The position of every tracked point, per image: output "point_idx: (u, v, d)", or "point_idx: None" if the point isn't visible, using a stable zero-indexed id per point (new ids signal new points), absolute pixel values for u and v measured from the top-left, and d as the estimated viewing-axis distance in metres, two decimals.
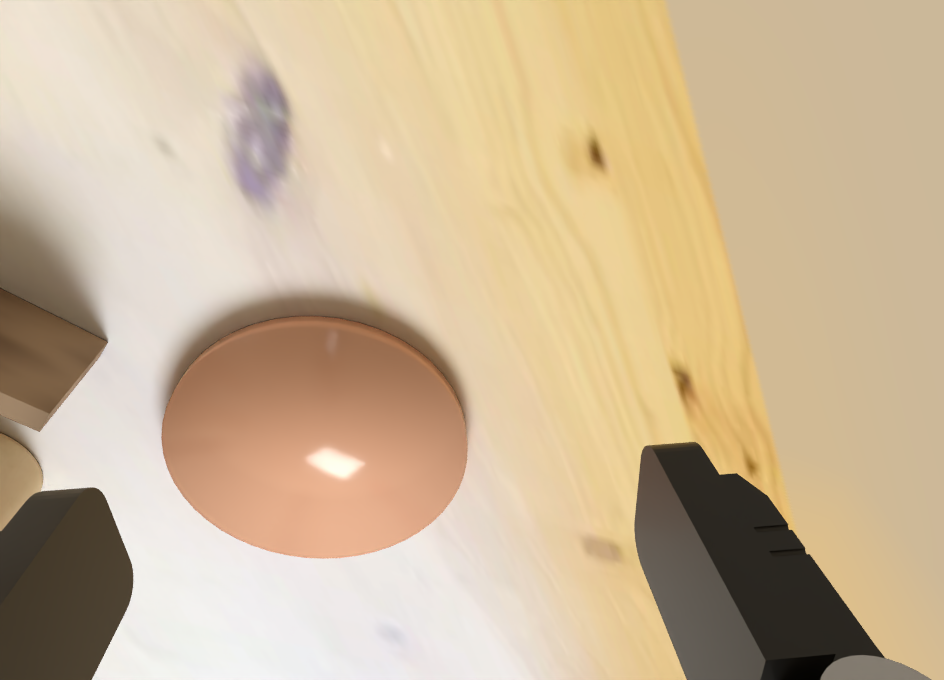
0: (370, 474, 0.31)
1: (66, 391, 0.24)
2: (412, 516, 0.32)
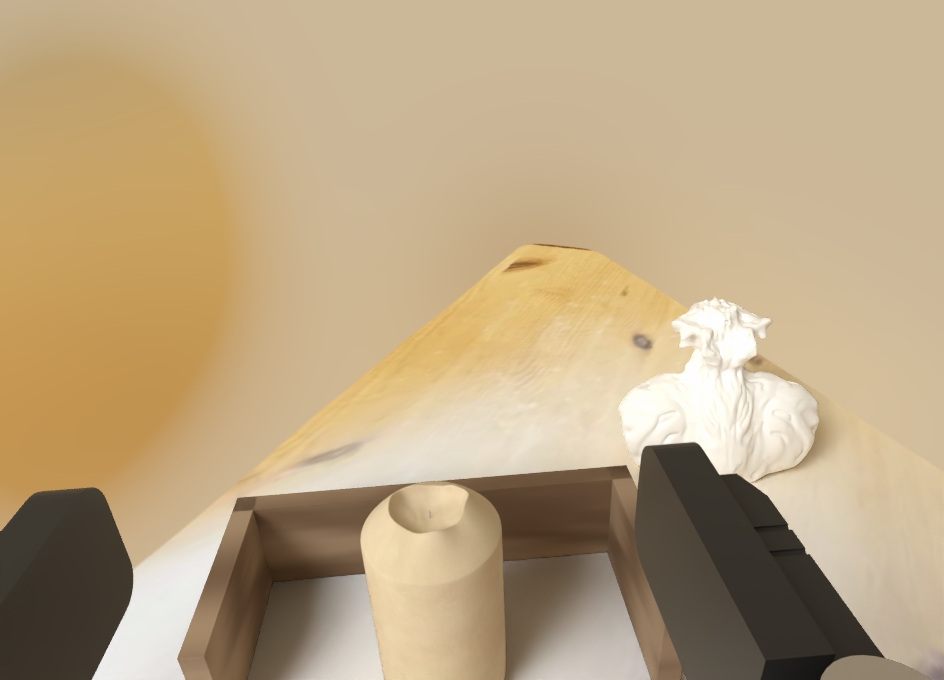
0: None
1: None
2: None
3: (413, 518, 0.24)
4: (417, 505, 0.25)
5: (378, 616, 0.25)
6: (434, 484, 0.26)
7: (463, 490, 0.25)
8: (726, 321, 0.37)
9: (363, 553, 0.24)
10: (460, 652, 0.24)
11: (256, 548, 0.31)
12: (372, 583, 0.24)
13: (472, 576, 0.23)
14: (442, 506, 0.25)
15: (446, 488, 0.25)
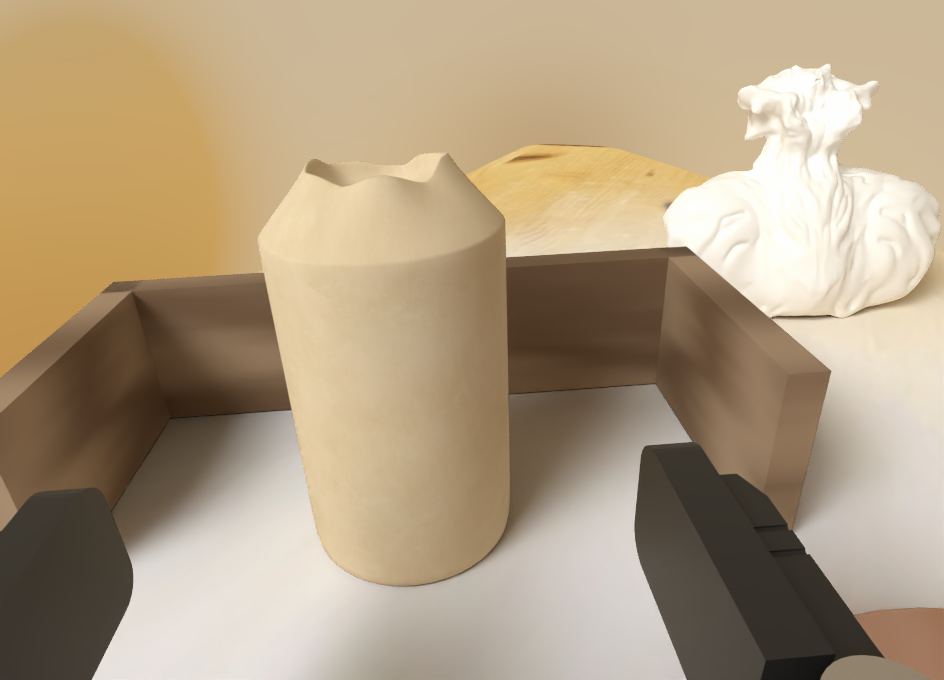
0: None
1: (817, 419, 0.15)
2: None
3: None
4: None
5: (289, 370, 0.14)
6: (392, 166, 0.15)
7: (439, 154, 0.14)
8: (817, 80, 0.27)
9: (259, 245, 0.13)
10: (430, 428, 0.14)
11: (136, 349, 0.21)
12: (274, 296, 0.13)
13: (451, 262, 0.12)
14: None
15: (411, 164, 0.15)
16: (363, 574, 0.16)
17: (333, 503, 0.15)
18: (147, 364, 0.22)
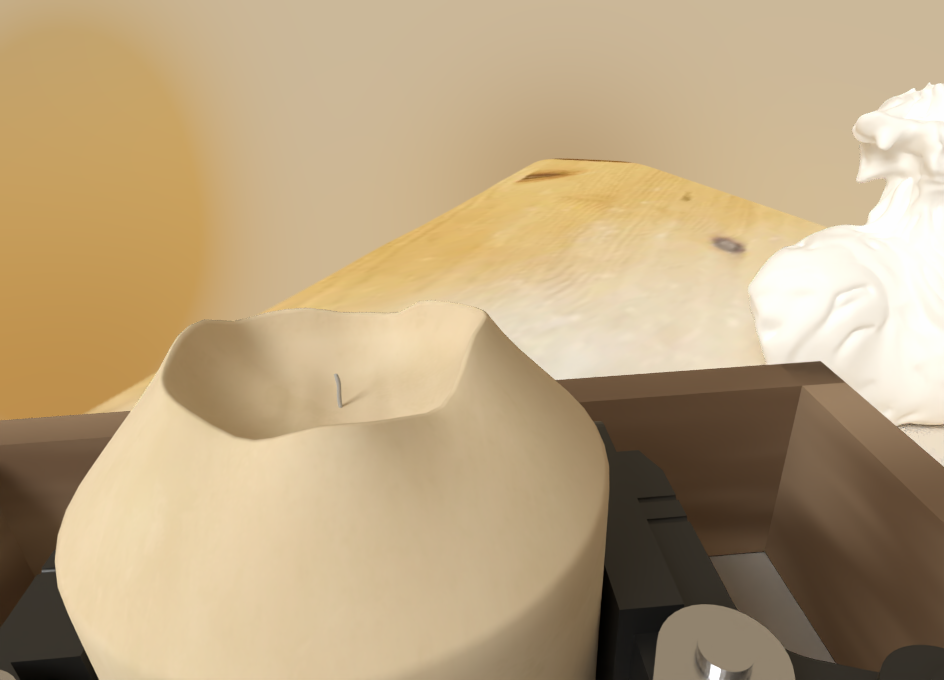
0: None
1: None
2: None
3: (276, 405, 0.06)
4: (302, 372, 0.07)
5: None
6: (369, 313, 0.08)
7: (466, 309, 0.07)
8: None
9: (61, 536, 0.06)
10: None
11: None
12: None
13: (508, 642, 0.05)
14: (389, 373, 0.07)
15: (408, 314, 0.07)
16: None
17: None
18: (3, 550, 0.14)
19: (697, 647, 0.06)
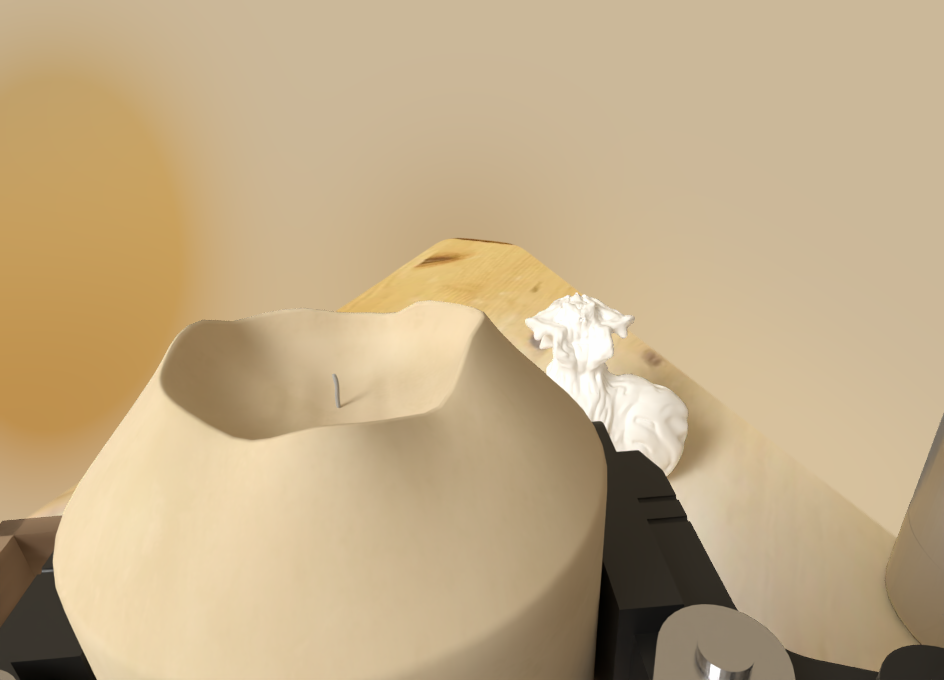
0: None
1: None
2: None
3: (274, 405, 0.06)
4: (300, 372, 0.07)
5: None
6: (368, 313, 0.08)
7: (464, 309, 0.07)
8: (581, 319, 0.33)
9: (60, 535, 0.06)
10: None
11: (18, 579, 0.27)
12: None
13: (504, 642, 0.05)
14: (388, 373, 0.07)
15: (407, 315, 0.07)
16: None
17: None
18: (29, 584, 0.28)
19: (697, 646, 0.06)
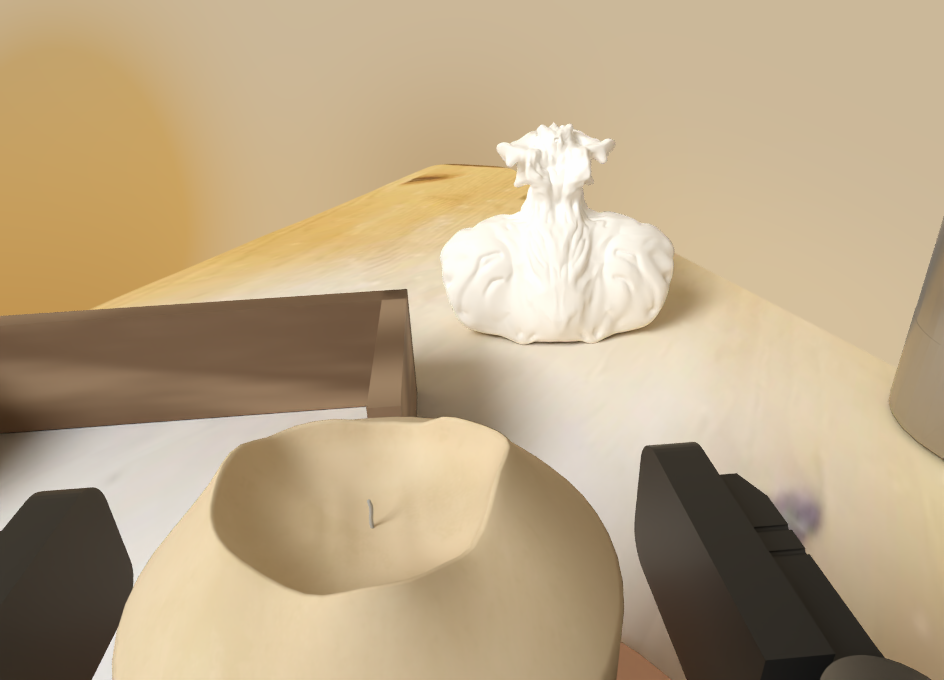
0: None
1: None
2: None
3: (312, 528, 0.07)
4: (333, 486, 0.07)
5: None
6: (393, 420, 0.08)
7: (489, 432, 0.07)
8: (556, 139, 0.31)
9: (115, 660, 0.06)
10: None
11: None
12: None
13: None
14: (416, 488, 0.07)
15: (432, 428, 0.08)
16: None
17: None
18: None
19: None
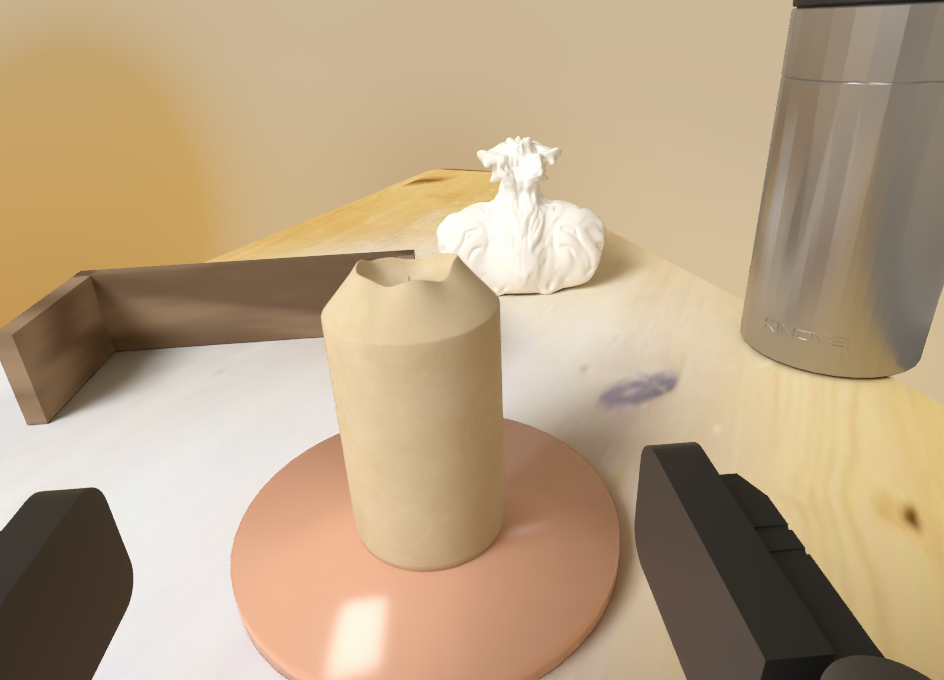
0: None
1: None
2: (402, 657, 0.18)
3: None
4: (393, 278, 0.20)
5: (344, 413, 0.19)
6: None
7: (451, 254, 0.20)
8: (518, 148, 0.43)
9: (324, 325, 0.19)
10: (448, 454, 0.19)
11: (92, 308, 0.37)
12: (335, 362, 0.19)
13: (463, 339, 0.18)
14: (424, 278, 0.20)
15: (430, 259, 0.20)
16: (396, 563, 0.21)
17: (375, 509, 0.20)
18: (99, 317, 0.38)
19: None
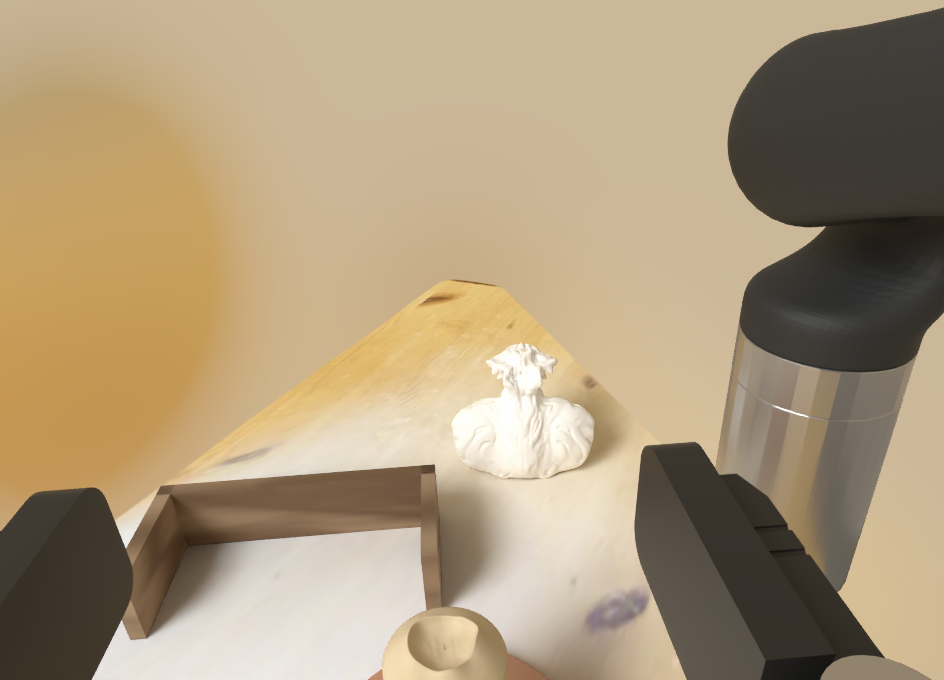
0: None
1: (438, 571, 0.40)
2: None
3: (429, 650, 0.27)
4: (432, 636, 0.28)
5: None
6: (446, 614, 0.29)
7: (473, 623, 0.28)
8: (521, 361, 0.51)
9: None
10: None
11: (172, 520, 0.46)
12: None
13: None
14: (454, 637, 0.28)
15: (458, 618, 0.28)
16: None
17: None
18: (177, 524, 0.46)
19: None
